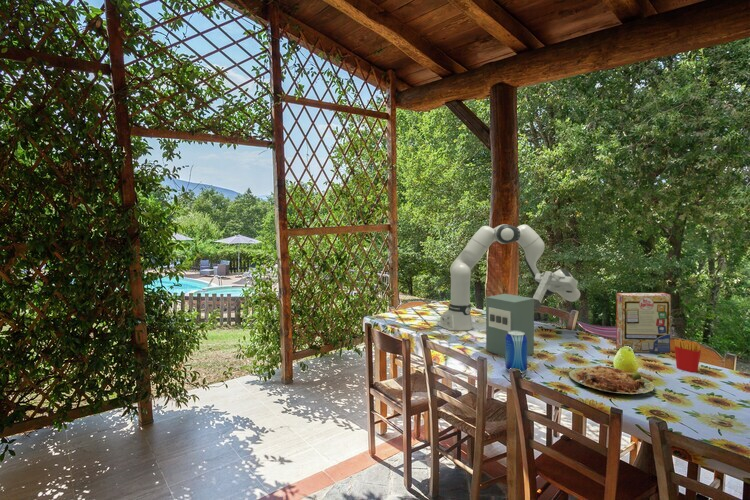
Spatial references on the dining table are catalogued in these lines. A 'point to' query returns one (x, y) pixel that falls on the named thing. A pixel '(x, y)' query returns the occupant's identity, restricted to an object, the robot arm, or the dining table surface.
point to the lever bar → (541, 290)
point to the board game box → (643, 322)
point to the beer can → (516, 351)
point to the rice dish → (611, 380)
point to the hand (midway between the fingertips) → (547, 274)
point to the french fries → (687, 355)
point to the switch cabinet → (508, 321)
